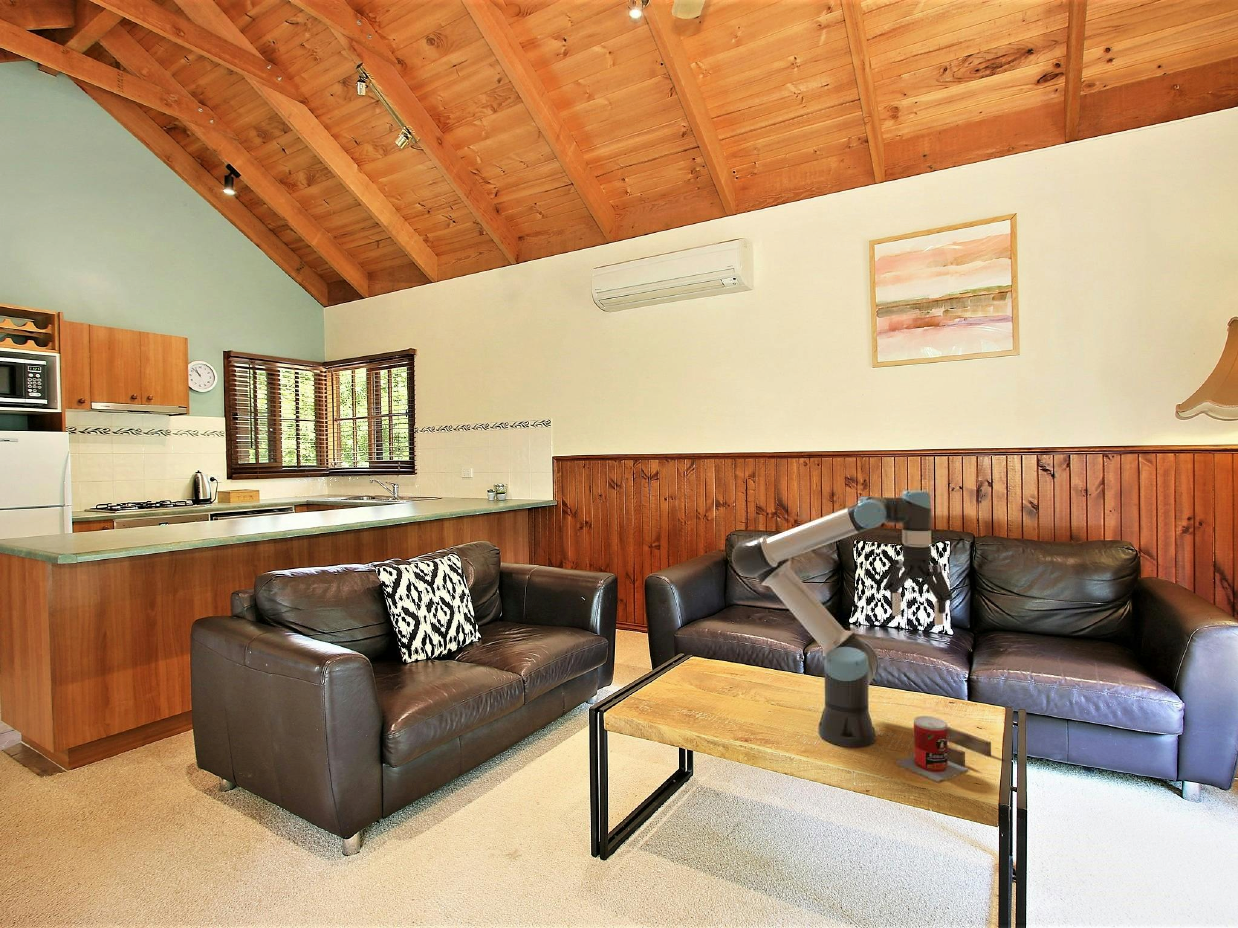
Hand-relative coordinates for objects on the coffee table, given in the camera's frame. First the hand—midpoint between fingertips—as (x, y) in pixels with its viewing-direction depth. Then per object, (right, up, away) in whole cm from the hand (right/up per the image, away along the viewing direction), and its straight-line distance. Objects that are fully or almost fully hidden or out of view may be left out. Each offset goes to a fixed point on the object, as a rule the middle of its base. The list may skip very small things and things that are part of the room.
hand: (917, 619), depth 192 cm
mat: (-6, -32, -22) cm, 39 cm away
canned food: (-6, -32, -22) cm, 39 cm away
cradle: (+4, -32, -14) cm, 35 cm away
